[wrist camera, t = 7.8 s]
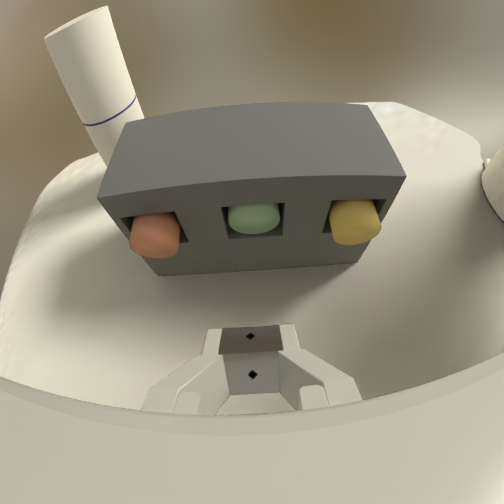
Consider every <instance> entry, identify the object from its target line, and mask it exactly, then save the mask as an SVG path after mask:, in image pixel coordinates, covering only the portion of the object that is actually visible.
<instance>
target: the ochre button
mask: <svg viewBox="0 0 504 504" xmlns="http://www.w3.org/2000/svg"><path fill="white" fill-rule="evenodd" d="M328 217H329V221H330V225H331V230H332V234H333V239H334V241H335V242H337V243H339V244H342V245H356V244H361V243H364V242H366V241H369V240H371V239H372V238H374V237H375V236H376V235H377V234H378V233H379V232H380V230H381V224H380V220H379V217H378V214H377V211H376V208H375V205H374V203H373V200H372V199H363V200H332V201H331V204H330V208H329V211H328Z"/></svg>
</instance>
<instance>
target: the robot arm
mask: <svg viewBox="0 0 504 504" xmlns="http://www.w3.org/2000/svg"><path fill="white" fill-rule="evenodd" d="M484 166H485V170H484V171H483V173H482V176H481V180H482V186H483V189H484V192H485V194H486V196H487V198H488V200H489V202H490V204H491V205H492V207H493V208H494V210H495V211H496V213H497V214H498V215H499V217H500V218H501V219H502V220H503V221H504V144H503V146H502V147H501V148H500V149H499V151H498V152H497V153H496V155H495V156H494V157H493V158H492V159H489V158H487V159H486V160H485V161H484ZM277 392H280V394H281V395H282V396H283V397H284V398H285V399H286V400H287V401H288V402H289V403H290V404H291V405H292V406H293V407H294V409H295V410H296V411H290V412H279V413H266V414H248V415H215V414H216V412H217V411H218V410H219V409H220V408H221V407H222V405H223V404H224V403H225V402H226V401H227V399H228V398H229V397H230V395H241V394H256V393H277ZM0 504H504V352H502V353H500V354H498V355H496V356H494V357H492V358H490V359H487V360H485V361H483V362H481V363H478V364H476V365H474V366H471V367H469V368H467V369H464V370H462V371H459V372H456V373H454V374H451V375H449V376H446V377H443V378H440V379H437V380H434V381H431V382H428V383H425V384H422V385H419V386H416V387H412V388H409V389H406V390H402V391H398V392H395V393H391V394H387V395H383V396H379V397H375V398H370V399H366V400H362V397H361V395H360V392H359V390H358V388H357V385H356V383H355V381H354V378H352V377H351V376H349V375H347V374H345V373H344V372H342V371H340V370H339V369H337V368H335V367H334V366H332V365H330V364H329V363H327V362H325V361H324V360H322V359H320V358H319V357H317V356H315V355H314V354H312V353H311V352H309V351H307V350H306V349H300V346H299V342H298V338H297V334H296V330H295V326H294V324H293V323H289V324H281V325H272V326H262V327H242V328H213V329H208V330H207V334H206V338H205V342H204V346H203V350H202V354H201V355H197V356H195V357H194V358H193V359H191V360H190V361H188V362H187V363H186V364H184V365H183V366H181V367H180V368H179V369H177V370H176V371H174V372H173V373H171V374H170V375H169V376H167V377H166V378H164V379H163V380H161V381H160V382H158V383H157V384H156V385H154V386H153V387H151V388H150V389H149V392H148V394H147V397H146V399H145V401H144V404H143V406H142V409H141V410H133V409H125V408H119V407H112V406H106V405H101V404H95V403H90V402H86V401H81V400H76V399H72V398H68V397H64V396H60V395H56V394H52V393H49V392H45V391H42V390H38V389H35V388H32V387H29V386H26V385H23V384H20V383H17V382H14V381H11V380H8V379H6V378H3V377H1V376H0Z"/></svg>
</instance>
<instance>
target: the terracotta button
mask: <svg viewBox="0 0 504 504" xmlns="http://www.w3.org/2000/svg"><path fill="white" fill-rule="evenodd" d="M179 234H180V222H179V220H178V218H177V215H176V213H175V211H173V212H164V213H155V214H146V215H138V216H134V220H133V225H132V230H131V235H130V241H129V246H130V248H131V249H132V250H133V251H134V252H136V253H138V254H140V255H142V256H145V257H149V258H167V257H170V256H173V255H174V254H176V253H177V251H178V246H179Z"/></svg>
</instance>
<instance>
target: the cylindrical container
mask: <svg viewBox="0 0 504 504" xmlns="http://www.w3.org/2000/svg"><path fill="white" fill-rule="evenodd" d="M44 41H45V43H46V46H47V48H48V50H49V53H50V55H51V57H52V60H53V62H54V64H55V67H56V69H57V71H58V73H59V75H60V78H61V80H62V82H63V84H64V86H65V89H66V91H67V92H68V95H69V97H70V99H71V101H72V103H73V105H74V107H75V109H76V111H77V113H78V115H79V117H80V119H81V120H82V122H83V124H84V126H85V128H86V130H87V132H88V134H89V136H90V137H91V139H92V141H93V143H94V145H95V147H96V148H97V150H98V152H99V154H100V156H101V157H102V159H103V161H104V163H105V164H106V166H107V167H108V164H109V162H110V159H111V156H112V154H113V151H114V149H115V146H116V144H117V141H118V139H119V137H120V134H121V132H122V130H123V127H124V125H125V123H126V122H130V121H135V120H139V119H144V116H143V113H142V110H141V108H140V105H139V102H138V99H137V97H136V94H135V91H134V88H133V85H132V82H131V79H130V76H129V73H128V70H127V68H126V64H125V61H124V58H123V55H122V52H121V49H120V46H119V43H118V39H117V36H116V33H115V30H114V26H113V23H112V20H111V16H110V13H109V9H108V6H104V7H101V8H98V9H95V10H93V11H91V12H89V13H86V14H84V15H82V16H79V17H77V18H75V19H73V20H72V21H70V22H68V23H66V24H64V25H62V26H61V27H59V28H57V29H56V30H54V31H53V32H51V33H50V34H48V35H47V36H45V37H44Z"/></svg>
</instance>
